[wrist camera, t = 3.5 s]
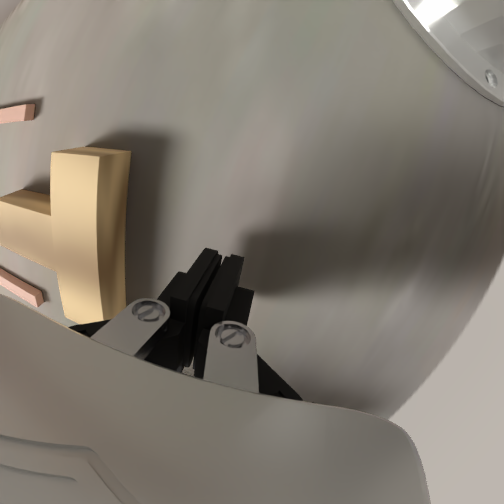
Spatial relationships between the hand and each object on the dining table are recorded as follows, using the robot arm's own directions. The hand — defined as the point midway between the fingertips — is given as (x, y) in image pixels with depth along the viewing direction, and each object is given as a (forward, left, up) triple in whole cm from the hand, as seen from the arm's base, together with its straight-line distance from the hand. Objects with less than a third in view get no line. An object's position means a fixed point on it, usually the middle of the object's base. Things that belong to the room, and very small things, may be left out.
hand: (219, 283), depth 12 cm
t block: (0, -10, -1) cm, 10 cm away
